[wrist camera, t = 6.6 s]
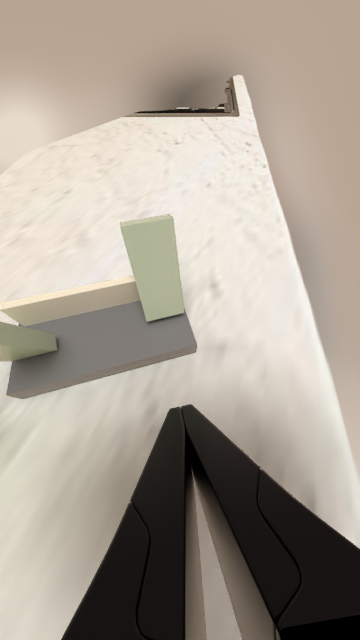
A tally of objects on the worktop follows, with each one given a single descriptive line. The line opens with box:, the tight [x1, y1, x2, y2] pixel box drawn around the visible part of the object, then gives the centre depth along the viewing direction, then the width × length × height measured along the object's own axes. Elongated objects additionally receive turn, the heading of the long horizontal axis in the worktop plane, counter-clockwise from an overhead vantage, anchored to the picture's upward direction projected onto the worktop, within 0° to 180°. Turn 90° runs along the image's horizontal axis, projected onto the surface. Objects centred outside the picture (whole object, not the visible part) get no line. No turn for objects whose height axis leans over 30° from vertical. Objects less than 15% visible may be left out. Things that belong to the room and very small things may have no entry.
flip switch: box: [120, 214, 184, 322], centre depth 18 cm, size 2×4×9 cm, turn 107°
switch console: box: [0, 276, 197, 399], centre depth 20 cm, size 8×18×5 cm, turn 106°
